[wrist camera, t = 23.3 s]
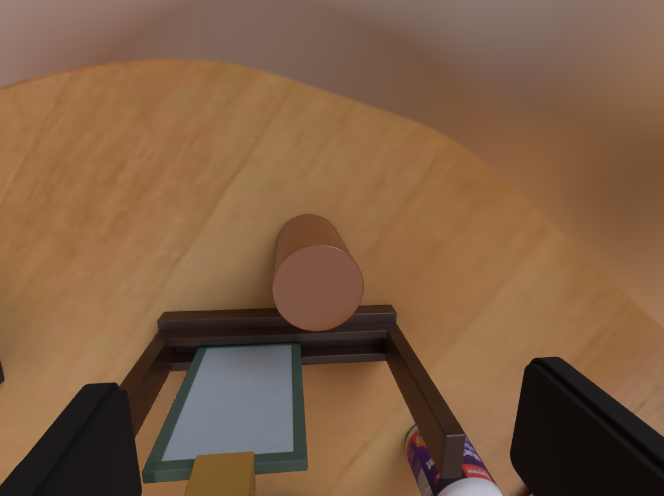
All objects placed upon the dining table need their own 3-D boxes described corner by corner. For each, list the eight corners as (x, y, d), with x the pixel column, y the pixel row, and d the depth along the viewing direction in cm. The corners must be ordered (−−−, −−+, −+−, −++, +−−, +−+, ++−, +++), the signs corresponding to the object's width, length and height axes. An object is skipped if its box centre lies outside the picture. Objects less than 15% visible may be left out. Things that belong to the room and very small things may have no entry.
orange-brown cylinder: (276, 214, 26) (270, 245, 18) (340, 214, 27) (365, 244, 18) (277, 276, 28) (272, 333, 19) (339, 274, 28) (362, 329, 20)
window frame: (163, 311, 27) (59, 447, 15) (391, 304, 29) (468, 419, 17) (168, 360, 28) (75, 526, 16) (388, 350, 30) (459, 491, 18)
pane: (199, 334, 26) (105, 528, 13) (299, 330, 27) (311, 509, 14) (201, 360, 27) (112, 573, 13) (300, 355, 27) (311, 552, 14)
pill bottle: (461, 409, 33) (532, 513, 23) (463, 459, 34) (530, 577, 25) (401, 420, 32) (447, 531, 23) (405, 470, 34) (451, 595, 24)
